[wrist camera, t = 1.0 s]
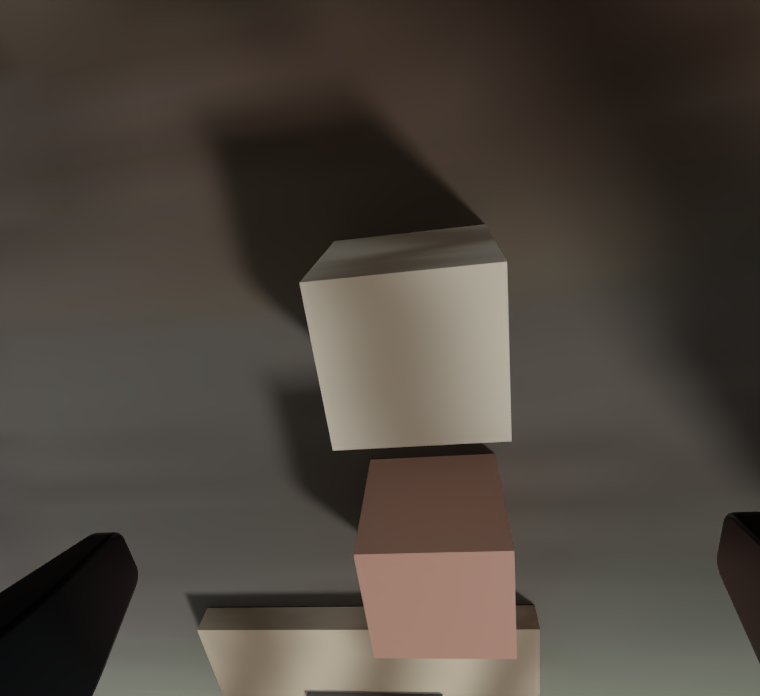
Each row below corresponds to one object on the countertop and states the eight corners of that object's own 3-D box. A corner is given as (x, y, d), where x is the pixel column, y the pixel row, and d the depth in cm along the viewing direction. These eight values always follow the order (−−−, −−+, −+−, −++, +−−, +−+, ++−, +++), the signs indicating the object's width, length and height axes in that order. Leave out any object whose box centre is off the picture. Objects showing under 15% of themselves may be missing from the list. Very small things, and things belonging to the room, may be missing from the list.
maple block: (484, 223, 16) (507, 261, 11) (490, 361, 18) (511, 441, 13) (334, 240, 17) (299, 282, 12) (356, 372, 19) (332, 450, 14)
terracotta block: (494, 452, 19) (514, 550, 15) (498, 546, 21) (516, 659, 17) (370, 458, 20) (353, 554, 16) (385, 549, 22) (374, 658, 18)
